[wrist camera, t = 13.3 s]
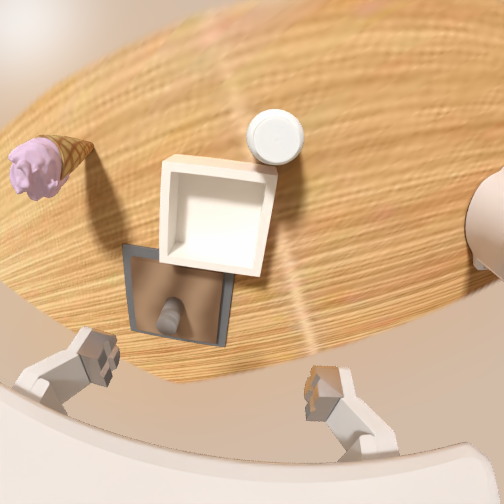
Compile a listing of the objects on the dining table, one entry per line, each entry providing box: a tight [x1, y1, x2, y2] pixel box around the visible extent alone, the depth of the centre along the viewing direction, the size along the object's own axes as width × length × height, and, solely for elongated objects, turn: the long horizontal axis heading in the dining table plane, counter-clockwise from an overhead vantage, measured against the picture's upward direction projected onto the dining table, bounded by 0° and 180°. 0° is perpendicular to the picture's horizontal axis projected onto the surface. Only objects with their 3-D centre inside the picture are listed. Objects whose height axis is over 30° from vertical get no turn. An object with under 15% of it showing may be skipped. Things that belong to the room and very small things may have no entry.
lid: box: [130, 256, 224, 344], centre depth 40 cm, size 13×13×6 cm
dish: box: [159, 154, 278, 277], centre depth 34 cm, size 12×12×5 cm
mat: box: [122, 244, 234, 347], centre depth 43 cm, size 16×16×1 cm
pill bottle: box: [246, 109, 304, 165], centre depth 28 cm, size 5×5×10 cm
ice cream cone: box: [8, 135, 93, 201], centre depth 26 cm, size 7×6×15 cm
